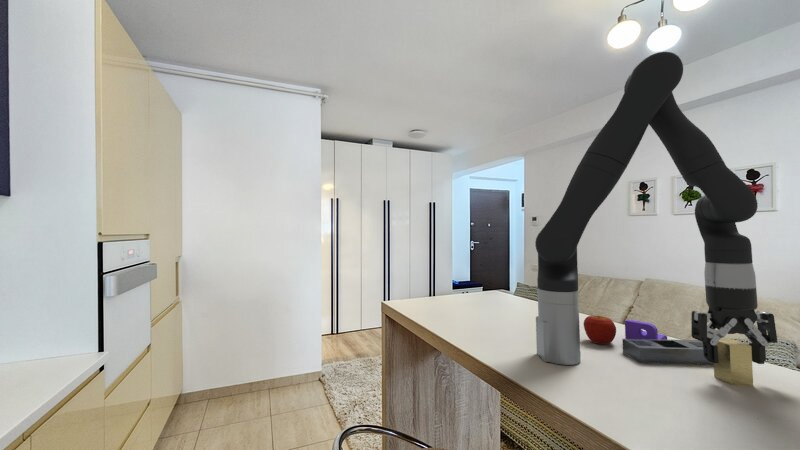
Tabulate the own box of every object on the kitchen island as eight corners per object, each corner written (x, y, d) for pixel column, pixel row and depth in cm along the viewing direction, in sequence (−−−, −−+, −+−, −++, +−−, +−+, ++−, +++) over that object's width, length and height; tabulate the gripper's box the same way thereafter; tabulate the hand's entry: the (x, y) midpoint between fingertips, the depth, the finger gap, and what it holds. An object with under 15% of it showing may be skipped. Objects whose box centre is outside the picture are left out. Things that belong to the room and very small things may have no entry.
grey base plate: (640, 362, 76) (639, 347, 76) (622, 352, 83) (622, 338, 83) (727, 365, 74) (726, 349, 74) (702, 354, 81) (701, 339, 81)
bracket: (656, 351, 84) (655, 325, 84) (625, 345, 89) (624, 320, 90) (667, 342, 92) (666, 318, 92) (638, 336, 97) (637, 313, 97)
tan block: (731, 384, 65) (729, 345, 65) (714, 376, 69) (712, 338, 69) (753, 385, 64) (751, 345, 65) (734, 377, 68) (732, 339, 69)
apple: (610, 349, 85) (609, 320, 86) (579, 342, 92) (578, 314, 92) (620, 343, 90) (619, 315, 91) (590, 336, 96) (589, 310, 97)
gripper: (707, 287, 64) (713, 369, 63) (787, 286, 63) (793, 370, 62) (679, 282, 72) (683, 355, 71) (749, 281, 70) (754, 356, 69)
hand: (734, 362), depth 66 cm, fingers open, 8 cm apart
